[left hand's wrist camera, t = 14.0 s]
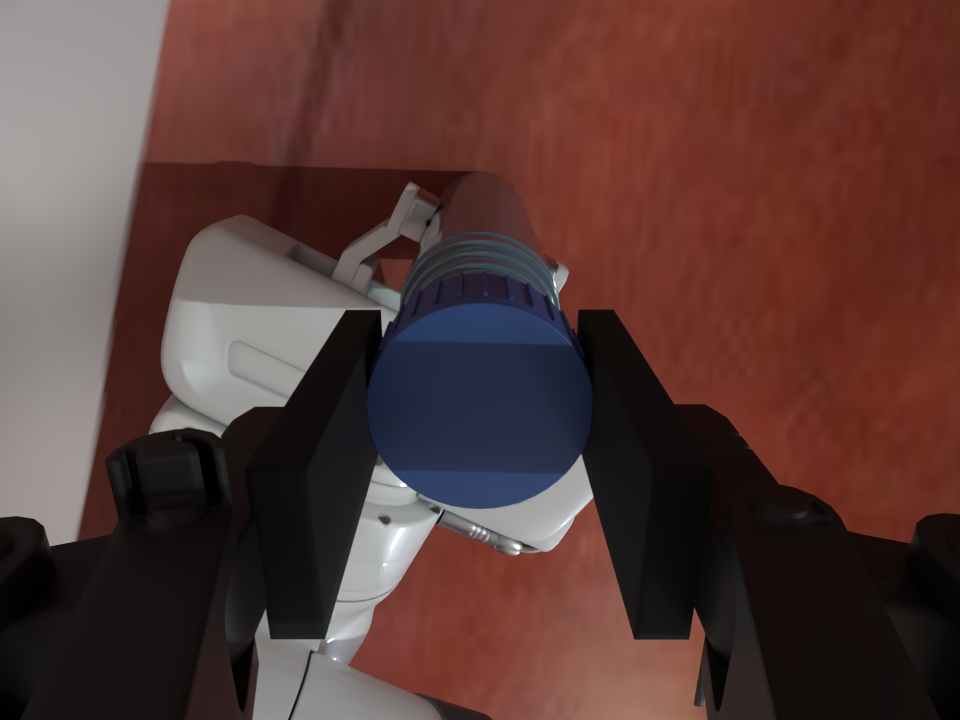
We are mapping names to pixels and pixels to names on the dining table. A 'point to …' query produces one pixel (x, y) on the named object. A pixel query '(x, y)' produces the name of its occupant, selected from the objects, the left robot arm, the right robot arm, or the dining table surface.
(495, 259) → the bottle
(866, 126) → the dining table surface
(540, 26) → the dining table surface
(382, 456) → the cap
